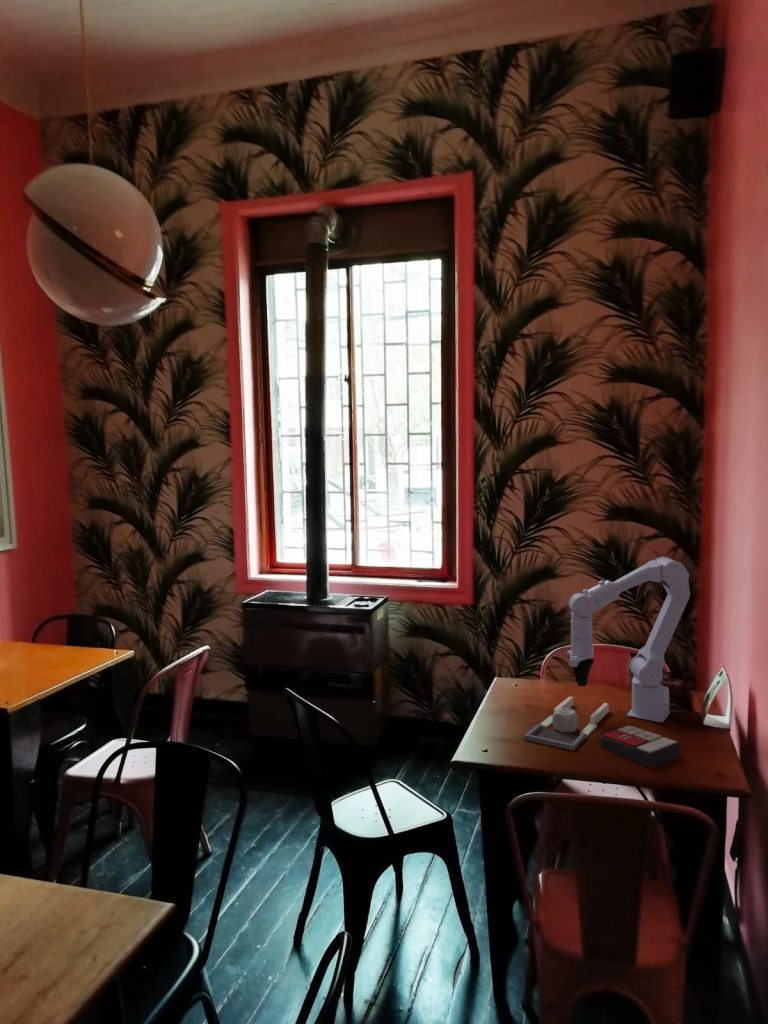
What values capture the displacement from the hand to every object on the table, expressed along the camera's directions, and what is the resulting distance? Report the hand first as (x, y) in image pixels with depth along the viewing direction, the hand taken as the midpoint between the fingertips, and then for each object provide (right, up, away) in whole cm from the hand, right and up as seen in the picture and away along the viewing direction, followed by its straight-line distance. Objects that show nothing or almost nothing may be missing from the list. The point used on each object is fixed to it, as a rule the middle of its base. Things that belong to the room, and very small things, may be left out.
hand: (581, 685), depth 197 cm
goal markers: (-6, -9, -7) cm, 13 cm away
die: (-7, -10, -9) cm, 15 cm away
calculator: (+8, -11, -23) cm, 27 cm away
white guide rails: (0, -8, +1) cm, 9 cm away
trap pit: (-11, -10, -14) cm, 21 cm away
